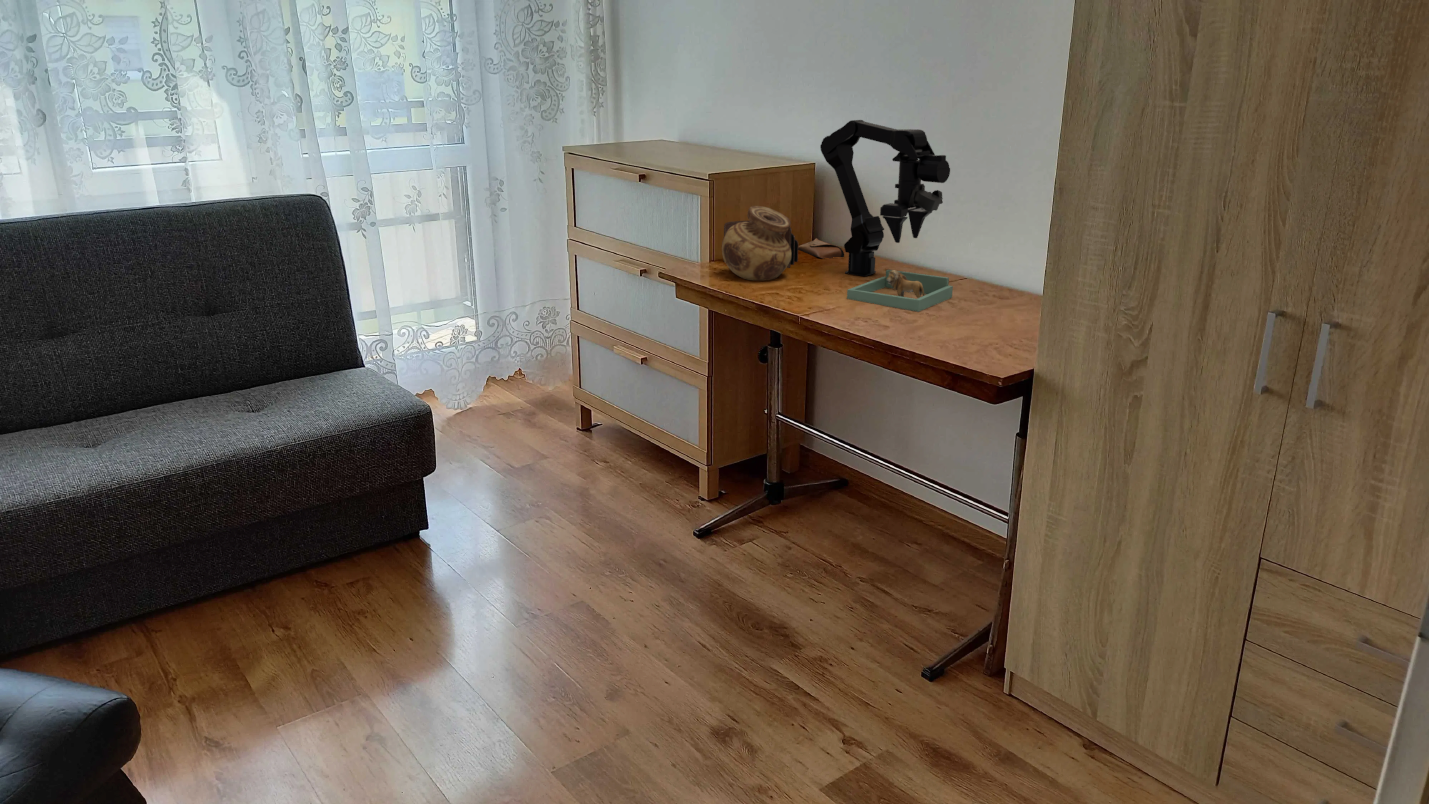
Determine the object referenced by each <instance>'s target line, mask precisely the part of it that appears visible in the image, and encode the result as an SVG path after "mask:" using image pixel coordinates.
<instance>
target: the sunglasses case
mask: <svg viewBox="0 0 1429 804" xmlns="http://www.w3.org/2000/svg"><path fill="white" fill-rule="evenodd" d="M798 251H801V252H803V253H806V254H807V255H810V256H813V257H816V258H820V259H823V260H825V259H824V258H829V259H834V258H833V257H844V258H845V252H844V250H843V249H842V248H841V247H840V246H839V245H836V244H830V243H829V242H826V241H823V240H820V239H818V238H817V237H815V239H814V240H811V241H809V242H806V243H803V244H800V245H798Z"/></svg>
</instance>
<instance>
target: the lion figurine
mask: <svg viewBox="0 0 1429 804" xmlns="http://www.w3.org/2000/svg"><path fill="white" fill-rule="evenodd" d="M891 270H892V271H890V272H889V275H888V278H887V281H888V284H890V285H891V286H892V287H893V289H894V291H897V296H901V297H905V292H906V293H913V295H914V296H915V297H916V299H918V298H920V297H922V296H925V295H926V294H924V289H923V286H922V283H920V282H919V281H909V280H908V279H907V278H906V276H904V275H902V274H901V273H900V272H898V271H899V270H895V269H891ZM893 289H892V290H893ZM921 292H922V294H921Z"/></svg>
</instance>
